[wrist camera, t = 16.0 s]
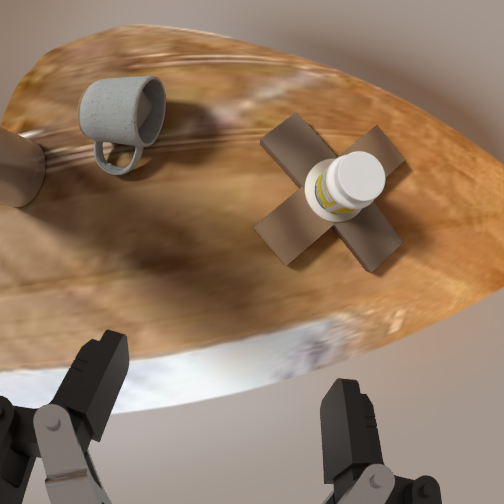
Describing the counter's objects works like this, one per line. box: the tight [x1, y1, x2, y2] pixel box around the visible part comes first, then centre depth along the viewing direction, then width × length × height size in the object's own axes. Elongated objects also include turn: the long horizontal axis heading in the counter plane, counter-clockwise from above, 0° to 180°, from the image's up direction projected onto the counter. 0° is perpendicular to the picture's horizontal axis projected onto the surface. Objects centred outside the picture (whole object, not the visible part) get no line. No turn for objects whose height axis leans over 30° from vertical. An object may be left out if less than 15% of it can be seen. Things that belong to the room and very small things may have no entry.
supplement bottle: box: [314, 151, 385, 215], centre depth 26 cm, size 5×5×8 cm
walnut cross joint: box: [253, 113, 405, 272], centre depth 32 cm, size 18×18×2 cm
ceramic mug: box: [77, 76, 166, 175], centre depth 29 cm, size 11×8×8 cm
